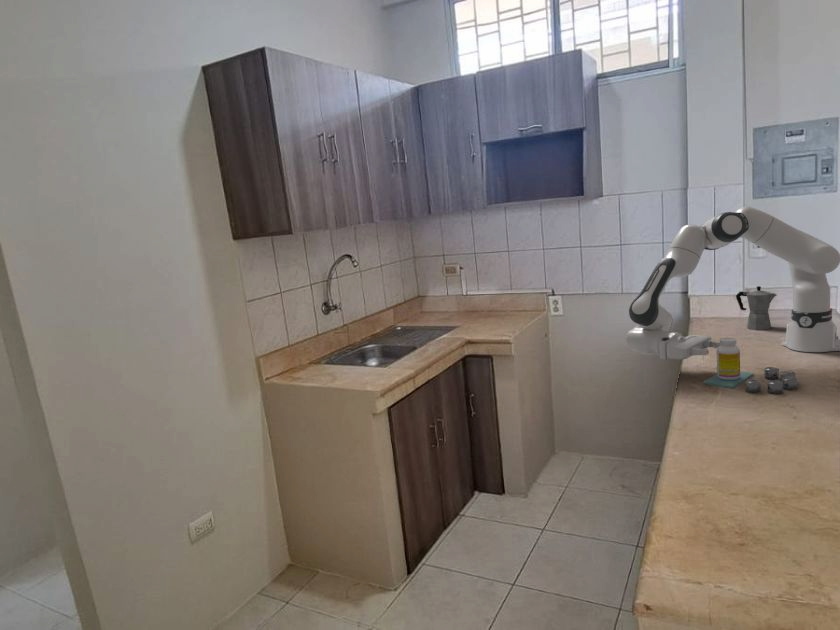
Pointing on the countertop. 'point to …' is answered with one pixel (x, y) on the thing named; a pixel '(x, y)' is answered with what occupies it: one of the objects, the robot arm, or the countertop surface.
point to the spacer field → (774, 382)
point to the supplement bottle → (728, 359)
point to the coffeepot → (757, 308)
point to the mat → (728, 383)
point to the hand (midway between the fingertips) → (714, 348)
